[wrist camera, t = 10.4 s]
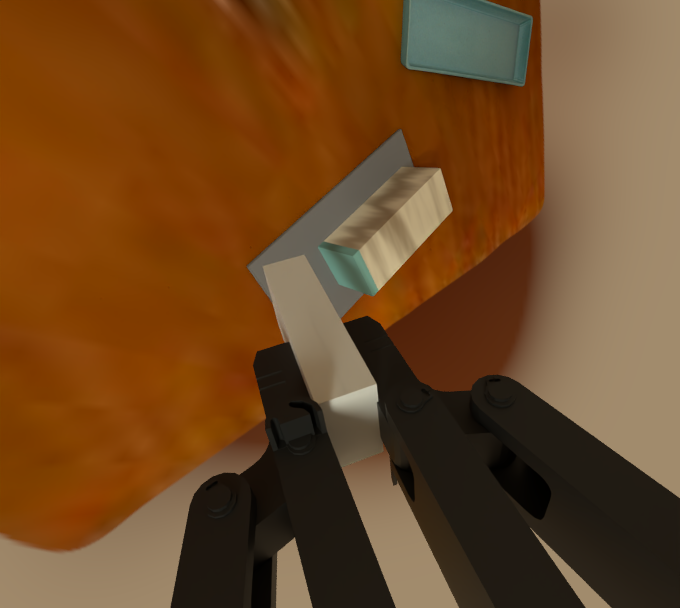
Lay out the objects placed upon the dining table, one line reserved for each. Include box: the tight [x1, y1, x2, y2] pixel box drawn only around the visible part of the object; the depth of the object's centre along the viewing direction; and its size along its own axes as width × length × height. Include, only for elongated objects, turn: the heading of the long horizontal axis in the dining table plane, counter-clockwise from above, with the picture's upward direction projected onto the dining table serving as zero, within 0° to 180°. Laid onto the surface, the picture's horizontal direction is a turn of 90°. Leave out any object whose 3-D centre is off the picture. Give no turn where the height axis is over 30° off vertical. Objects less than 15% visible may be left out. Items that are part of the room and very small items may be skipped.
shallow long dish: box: [401, 0, 533, 87], centre depth 57 cm, size 26×9×2 cm, turn 90°
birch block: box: [318, 167, 453, 296], centre depth 52 cm, size 6×6×16 cm
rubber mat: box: [247, 129, 414, 318], centre depth 53 cm, size 26×14×1 cm, turn 121°
